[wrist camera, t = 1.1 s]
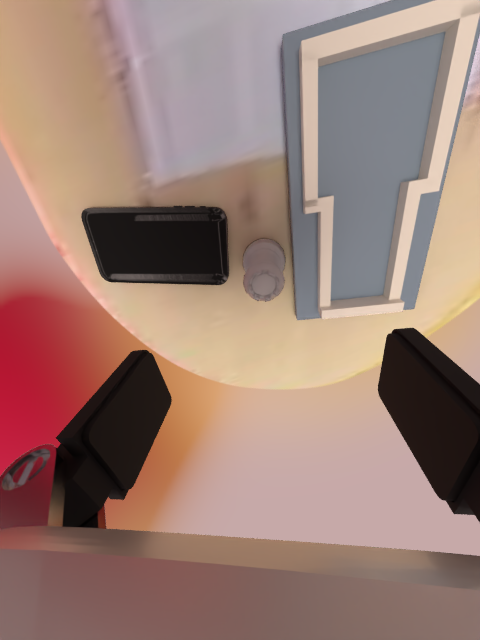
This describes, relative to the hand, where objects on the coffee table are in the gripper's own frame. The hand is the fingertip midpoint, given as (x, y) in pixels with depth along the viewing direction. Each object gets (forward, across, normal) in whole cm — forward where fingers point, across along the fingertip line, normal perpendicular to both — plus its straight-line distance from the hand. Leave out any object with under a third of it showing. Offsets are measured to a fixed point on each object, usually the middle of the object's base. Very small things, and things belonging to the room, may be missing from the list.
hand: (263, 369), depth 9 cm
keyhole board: (+17, -9, -4) cm, 20 cm away
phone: (+17, +11, -4) cm, 21 cm away
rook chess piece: (+17, 0, 0) cm, 17 cm away
